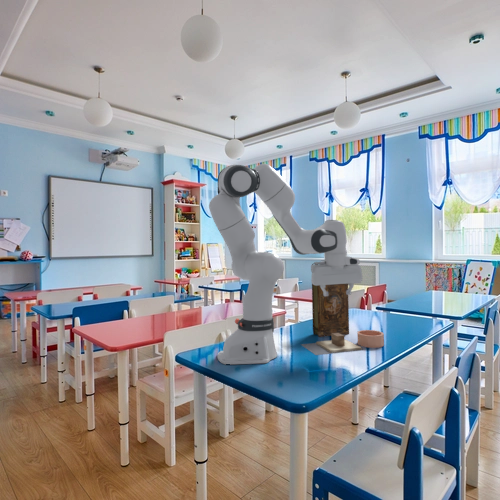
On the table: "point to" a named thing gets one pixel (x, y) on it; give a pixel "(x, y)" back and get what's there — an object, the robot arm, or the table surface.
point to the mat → (320, 349)
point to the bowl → (370, 338)
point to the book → (330, 310)
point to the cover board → (338, 349)
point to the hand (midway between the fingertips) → (337, 295)
